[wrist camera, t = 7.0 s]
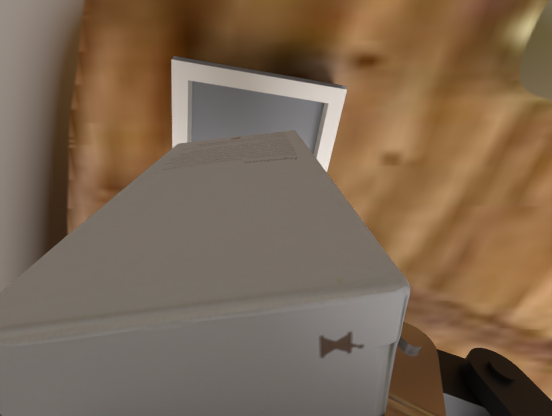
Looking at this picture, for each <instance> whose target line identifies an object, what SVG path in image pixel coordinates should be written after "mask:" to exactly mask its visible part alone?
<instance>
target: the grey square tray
mask: <svg viewBox="0 0 552 416" xmlns="http://www.w3.org/2000/svg"><path fill="white" fill-rule="evenodd" d="M171 65H172V148H174V147H175V146H176V145H177V144H179V143H187V142H195V141H204V140H212V139H221V138H230V137H239V136H248V135H256V134H265V133H274V132H283V131H290V130H295V131H296V132H297V134H298V135H299V136H300V138H301V139H302V140H303V141H304V143H305V144H306V145H307V147H308V148H309V149H310V151H311V152H312V153H313V155H314V156H315V158H316V159H317V160H318V161H319V163H320V164H321V165H322V167H323V168H324V170H325V171H326V172H327V170H328V166H329V162H330V158H331V153H332V149H333V145H334V141H335V137H336V133H337V129H338V125H339V120H340V116H341V112H342V108H343V104H344V100H345V96H346V92H347V90H346V89H345V88H346V86H343V85H338V84H332V83H326V82H320V81H315V80H309V79H303V78H297V77H292V76H286V75H280V74H275V73H269V72H263V71H257V70H252V69H246V68H240V67H234V66H229V65H223V64H217V63H211V62H206V61H200V60H194V59H188V58H183V57H177V56H173V60H172V59H171Z"/></svg>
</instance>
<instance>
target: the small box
mask: <svg viewBox="0 0 552 416" xmlns="http://www.w3.org/2000/svg"><path fill="white" fill-rule="evenodd" d="M409 296H410V285H409V283H408V281H407V279H406V278H405V276H404V275H403V274H402V272H401V271H400V270H399V269H398V267H397V266H396V265H395V264H394V262H393V261H392V260H391V258H390V257H389V256H388V255H387V253H386V252H385V251H384V249H383V248H382V247H381V245H380V244H379V243H378V241H377V240H376V238H375V237H374V235H373V234H372V233H371V231H370V230H369V229H368V228H367V226H366V225H365V224H364V222H363V221H362V220H361V218H360V217H359V215H358V214H357V213H356V211H355V210H354V209H353V207H352V206H351V205H350V204H349V202H348V201H347V200H346V198H345V197H344V196H343V194H342V193H341V191H340V190H339V189H338V187H337V186H336V185H335V183H334V182H333V180H332V179H331V178H330V176H329V175H328V174H327V172H326V171H325V170H324V168H323V167H322V165H321V164H320V163H319V161H318V160H317V159H316V158H315V156H314V155H313V153H312V152H311V151H310V149H309V148H308V147H307V145H306V144H305V143H304V141H303V140H302V139H301V138H300V136H299V135H298V134H297V132H296V131H295V130H290V131H283V132H274V133H265V134H256V135H248V136H239V137H230V138H221V139H212V140H204V141H195V142H187V143H179V144H177V145H176V146H175V147H174V148H172V149H171V150H170V151H168V152H167V153H166V154H165V155H164V156H163V157H161V158H160V159H159V160H158V161H156V162H155V163H154V164H153V165H152V166H150V167H149V168H148V169H147V170H146V171H144V172H143V173H142V174H141V175H140V176H138V177H137V178H136V179H135V180H134V181H133V182H131V183H130V184H129V185H128V186H127V187H125V188H124V189H123V190H122V191H121V192H120V193H118V194H117V195H116V196H115V197H114V198H112V199H111V200H110V201H109V202H108V203H106V204H105V205H104V206H103V207H102V208H100V209H99V210H98V211H97V212H96V213H94V214H93V215H92V216H91V217H89V218H88V219H87V220H86V221H85V222H83V223H82V224H81V225H80V226H78V227H77V228H76V229H75V230H73V231H72V232H71V233H70V234H68V235H67V236H66V237H65V238H64V239H63V240H61V241H60V242H59V243H58V244H57V245H56V246H54V247H53V248H52V249H51V250H50V251H49V252H47V253H46V254H45V255H44V256H43V257H42V258H40V259H39V260H38V261H37V262H36V263H35V264H33V265H32V266H31V267H30V268H29V269H28V270H26V271H25V272H24V273H23V274H22V275H21V276H19V277H18V278H17V279H16V280H15V281H13V282H12V283H11V284H10V285H9V286H7V287H6V288H5V289H4V290H3V291H1V292H0V414H1V415H2V416H383V414H384V413H385V412H386V407H387V401H388V393H389V387H390V381H391V375H392V370H393V364H394V359H395V353H396V348H397V344H398V342H399V339H400V336H401V331H402V326H403V321H404V316H405V312H406V308H407V304H408V300H409Z"/></svg>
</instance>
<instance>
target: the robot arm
mask: <svg viewBox="0 0 552 416" xmlns="http://www.w3.org/2000/svg"><path fill="white" fill-rule="evenodd" d="M0 416H2V415H1V414H0ZM383 416H552V401H551V400H550V399H549V398H548V397H547V396H546V395H545V394H544V393H543V392H542V391H541V390H540V389H539V388H538V387H537V386H536V385H535V384H534V383H533V382H532V381H531V380H530V379H529V378H528V377H527V376H526V375H525V374H524V373H523V372H522V371H521V370H520V369H519V368H518V367H517V366H516V365H515V364H513V363H512V362H511V361H509V360H508V359H507V358H505V357H503V356H502V355H500V354H498V353H496V352H494V351H491V350H488V349H484V348H474V349H472V350H471V351H470V352H469V354H468V355H467V357H466V358H462V357H459V356H456V355H453V354H450V353H447V352H444V351H441V350H438V349H436V347H435V345H434V344H433V342H432V341H431V340H430V338H429V337H428V336H427V335H426V334H424V333H423V332H422V331H421V330H419V329H418V328H416V327H414V326H412V325H410V324H408V323H405V322H404V321H403V326H402V331H401V336H400V339H399V342H398V344H397V348H396V353H395V359H394V364H393V370H392V375H391V381H390V387H389V393H388V401H387V407H386V412H385V413H384V414H383Z"/></svg>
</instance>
